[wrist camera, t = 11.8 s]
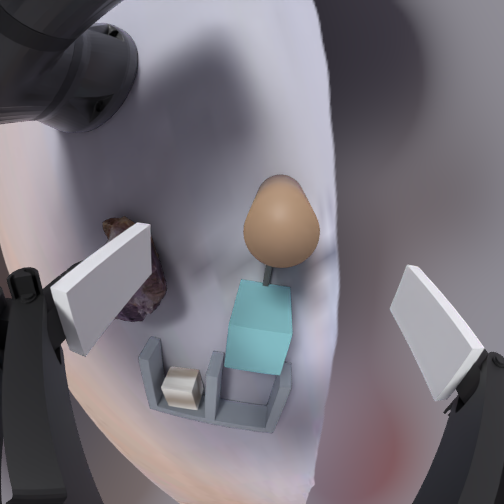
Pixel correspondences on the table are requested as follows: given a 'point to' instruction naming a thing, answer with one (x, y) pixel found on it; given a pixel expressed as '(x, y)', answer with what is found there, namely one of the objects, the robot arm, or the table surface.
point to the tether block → (264, 294)
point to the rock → (151, 289)
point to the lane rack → (214, 395)
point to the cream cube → (183, 388)
